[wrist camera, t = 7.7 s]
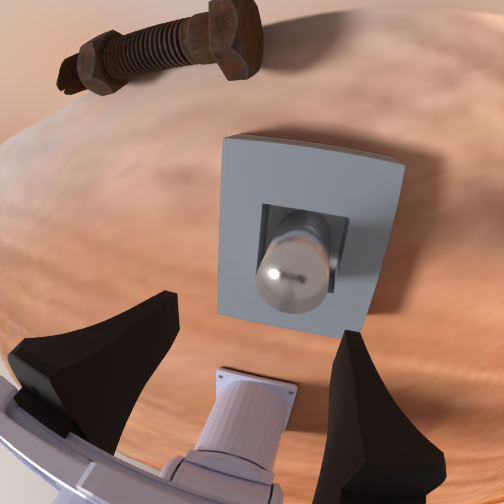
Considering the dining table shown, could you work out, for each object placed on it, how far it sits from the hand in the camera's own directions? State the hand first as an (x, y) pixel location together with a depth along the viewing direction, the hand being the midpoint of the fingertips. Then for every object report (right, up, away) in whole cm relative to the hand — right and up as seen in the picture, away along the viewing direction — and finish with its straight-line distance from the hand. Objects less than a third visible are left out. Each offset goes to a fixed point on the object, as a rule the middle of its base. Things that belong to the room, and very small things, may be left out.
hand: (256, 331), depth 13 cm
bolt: (-7, +17, +5) cm, 19 cm away
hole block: (+3, +5, +8) cm, 10 cm away
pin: (+3, +4, +8) cm, 9 cm away
